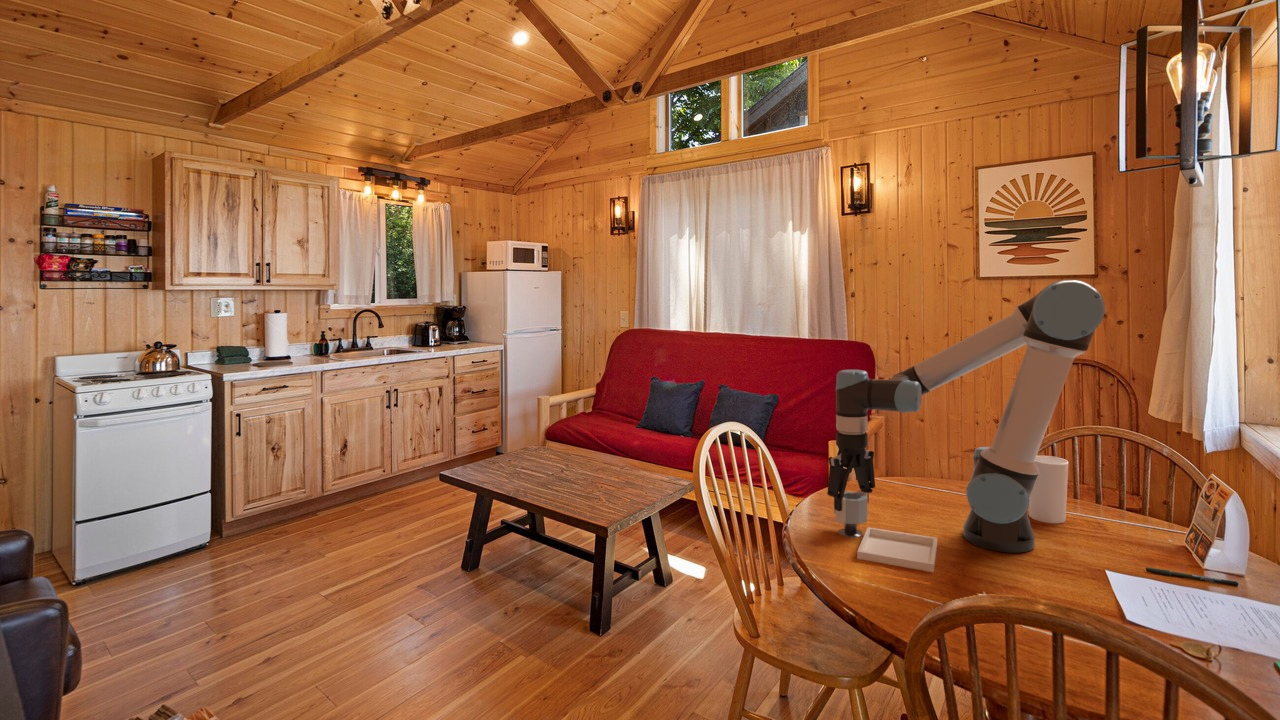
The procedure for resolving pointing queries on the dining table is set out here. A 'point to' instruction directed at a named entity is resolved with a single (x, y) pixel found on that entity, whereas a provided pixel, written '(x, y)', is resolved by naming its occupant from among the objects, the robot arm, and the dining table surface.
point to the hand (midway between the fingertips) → (851, 519)
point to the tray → (898, 549)
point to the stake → (850, 531)
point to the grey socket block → (855, 507)
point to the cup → (1049, 490)
